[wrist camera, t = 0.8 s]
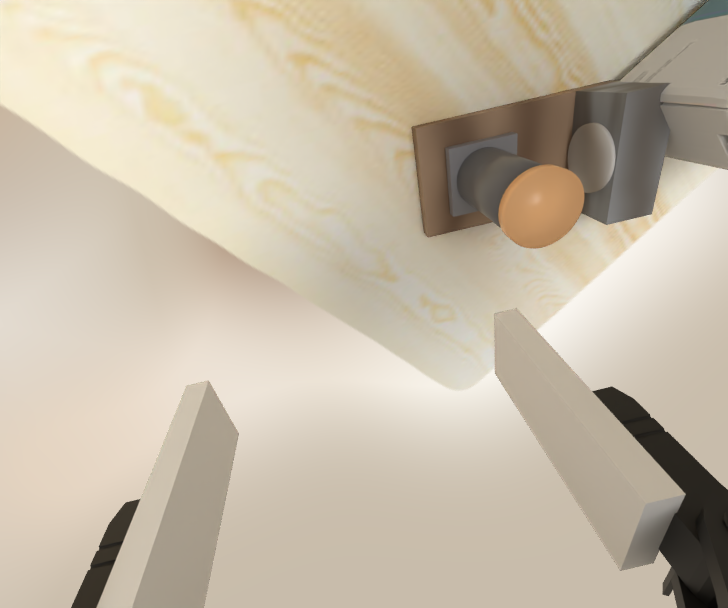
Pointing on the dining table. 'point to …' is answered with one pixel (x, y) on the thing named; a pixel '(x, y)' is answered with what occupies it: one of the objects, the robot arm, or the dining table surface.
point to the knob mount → (560, 148)
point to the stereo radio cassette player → (693, 85)
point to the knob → (513, 190)
